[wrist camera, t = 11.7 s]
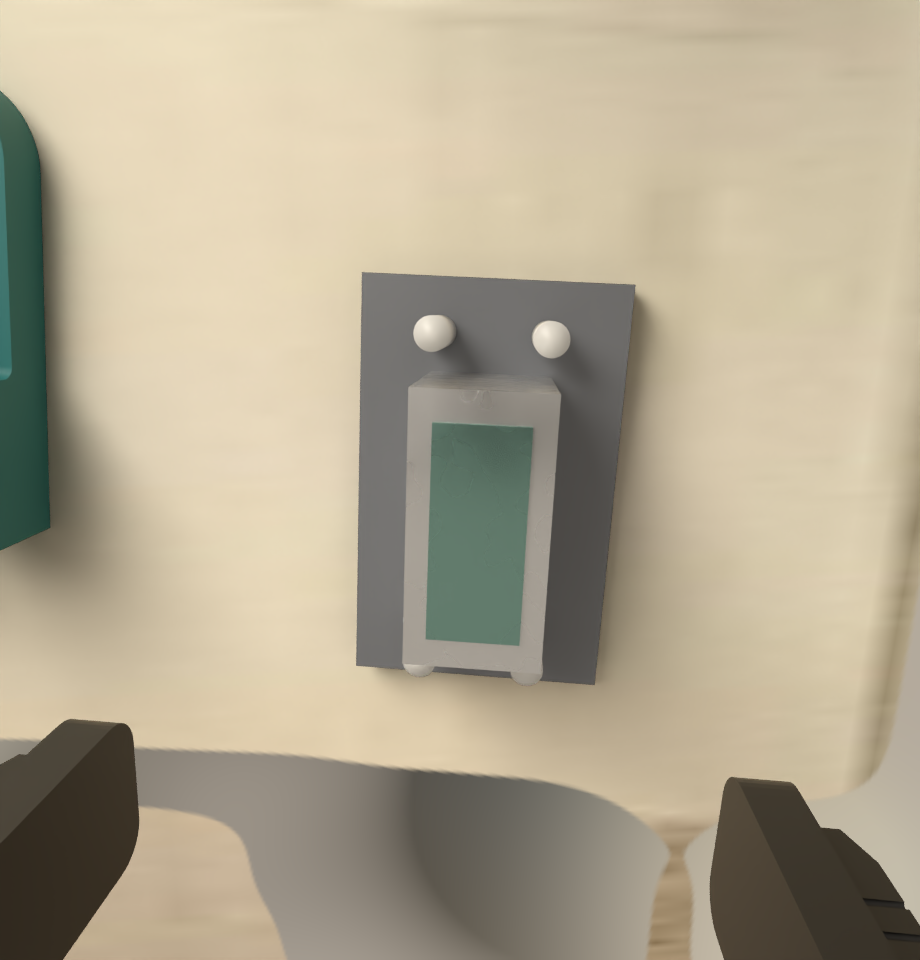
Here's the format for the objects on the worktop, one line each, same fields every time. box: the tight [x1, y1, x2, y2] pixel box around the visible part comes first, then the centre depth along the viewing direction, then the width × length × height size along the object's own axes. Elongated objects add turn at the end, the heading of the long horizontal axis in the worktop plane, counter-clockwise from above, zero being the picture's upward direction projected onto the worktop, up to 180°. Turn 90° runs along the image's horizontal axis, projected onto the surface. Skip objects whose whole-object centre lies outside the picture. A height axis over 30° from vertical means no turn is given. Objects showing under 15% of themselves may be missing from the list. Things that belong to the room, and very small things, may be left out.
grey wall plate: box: [356, 272, 635, 686], centre depth 27 cm, size 16×10×4 cm, turn 177°
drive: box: [402, 371, 561, 674], centre depth 25 cm, size 9×4×6 cm, turn 178°
